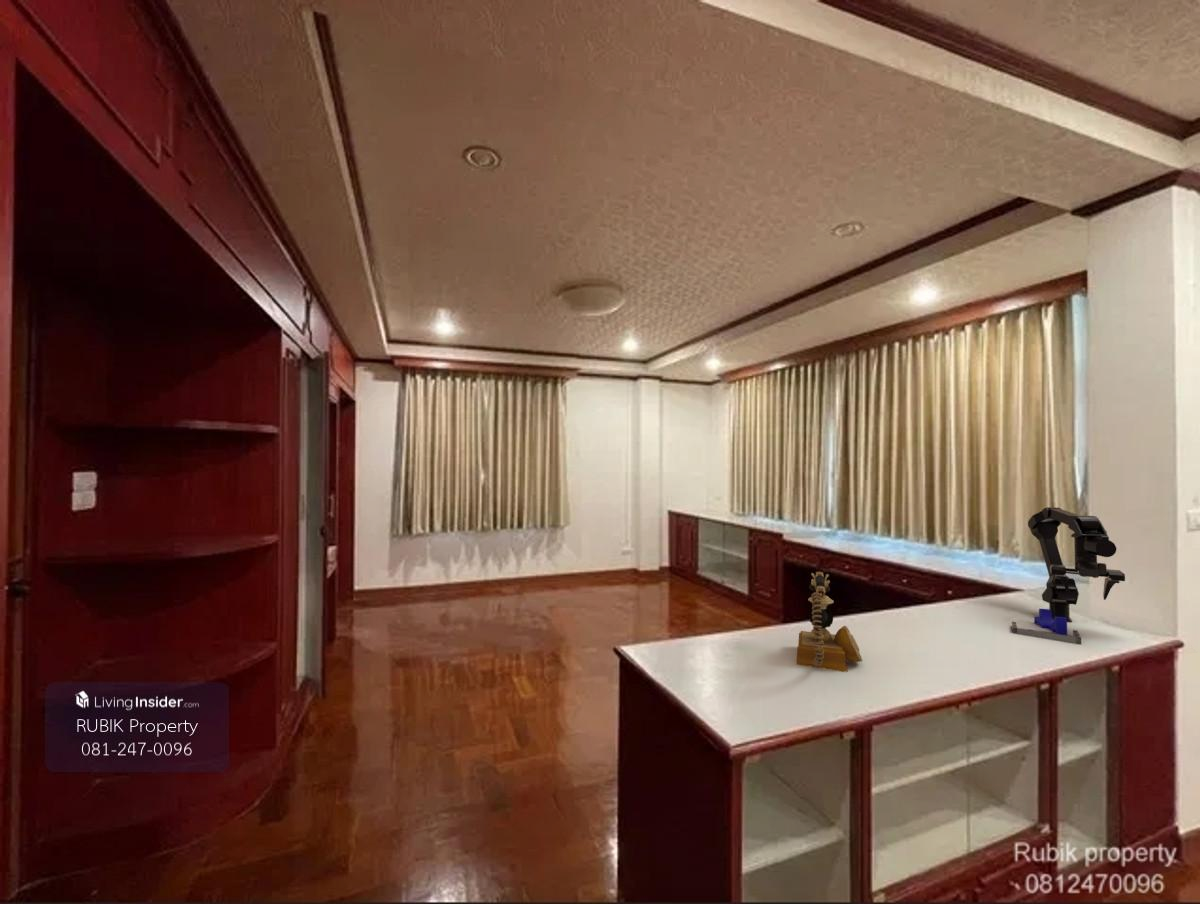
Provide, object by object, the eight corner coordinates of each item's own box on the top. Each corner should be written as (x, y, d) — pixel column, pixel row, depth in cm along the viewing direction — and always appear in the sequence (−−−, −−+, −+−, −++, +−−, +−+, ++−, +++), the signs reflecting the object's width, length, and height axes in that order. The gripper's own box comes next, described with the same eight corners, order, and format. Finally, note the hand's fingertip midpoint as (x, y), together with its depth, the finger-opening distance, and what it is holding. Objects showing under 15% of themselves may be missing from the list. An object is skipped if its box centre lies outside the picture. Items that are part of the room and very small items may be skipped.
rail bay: (1011, 627, 188) (1011, 621, 188) (1077, 637, 178) (1077, 630, 178) (1012, 634, 181) (1012, 627, 181) (1081, 644, 171) (1081, 637, 171)
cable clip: (1034, 624, 192) (1034, 608, 193) (1049, 625, 191) (1049, 609, 191) (1051, 635, 181) (1050, 617, 181) (1067, 636, 180) (1066, 618, 180)
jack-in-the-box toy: (870, 698, 132) (869, 597, 133) (794, 686, 139) (794, 590, 139) (858, 651, 165) (857, 570, 166) (797, 643, 172) (797, 566, 172)
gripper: (1052, 552, 182) (1053, 598, 182) (1128, 558, 171) (1129, 607, 171) (1049, 548, 191) (1050, 592, 191) (1121, 553, 180) (1122, 599, 180)
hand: (1086, 597), depth 183 cm, fingers open, 9 cm apart
